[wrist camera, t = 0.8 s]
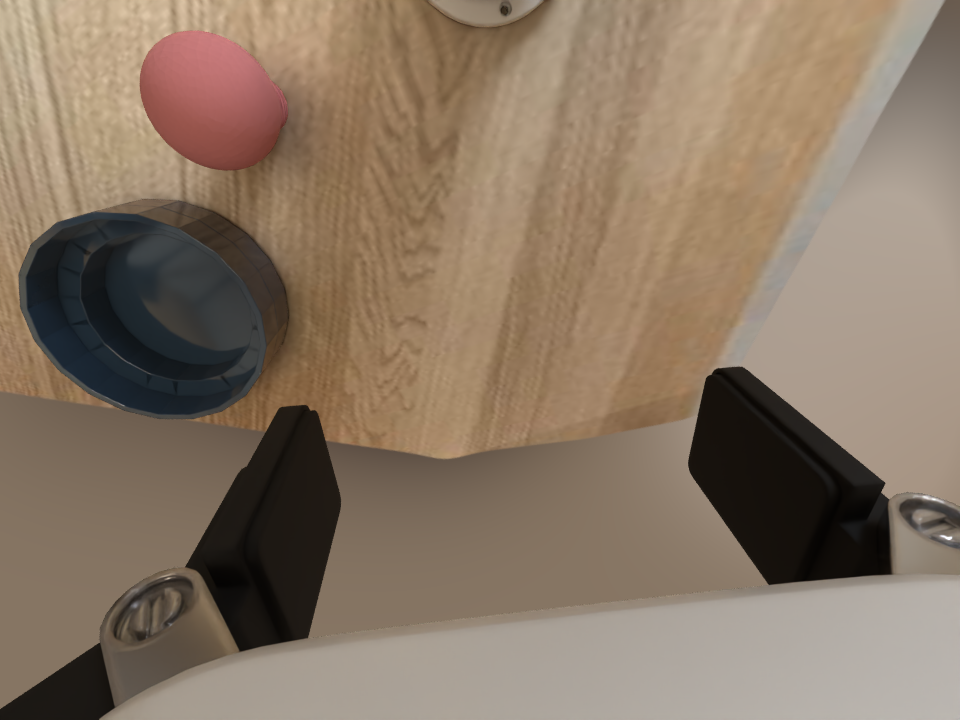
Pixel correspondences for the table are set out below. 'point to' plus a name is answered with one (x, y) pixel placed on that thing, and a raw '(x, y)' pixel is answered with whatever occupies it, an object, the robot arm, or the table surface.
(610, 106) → the table surface
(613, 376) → the table surface
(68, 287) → the dark grey round tub
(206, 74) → the light bulb
